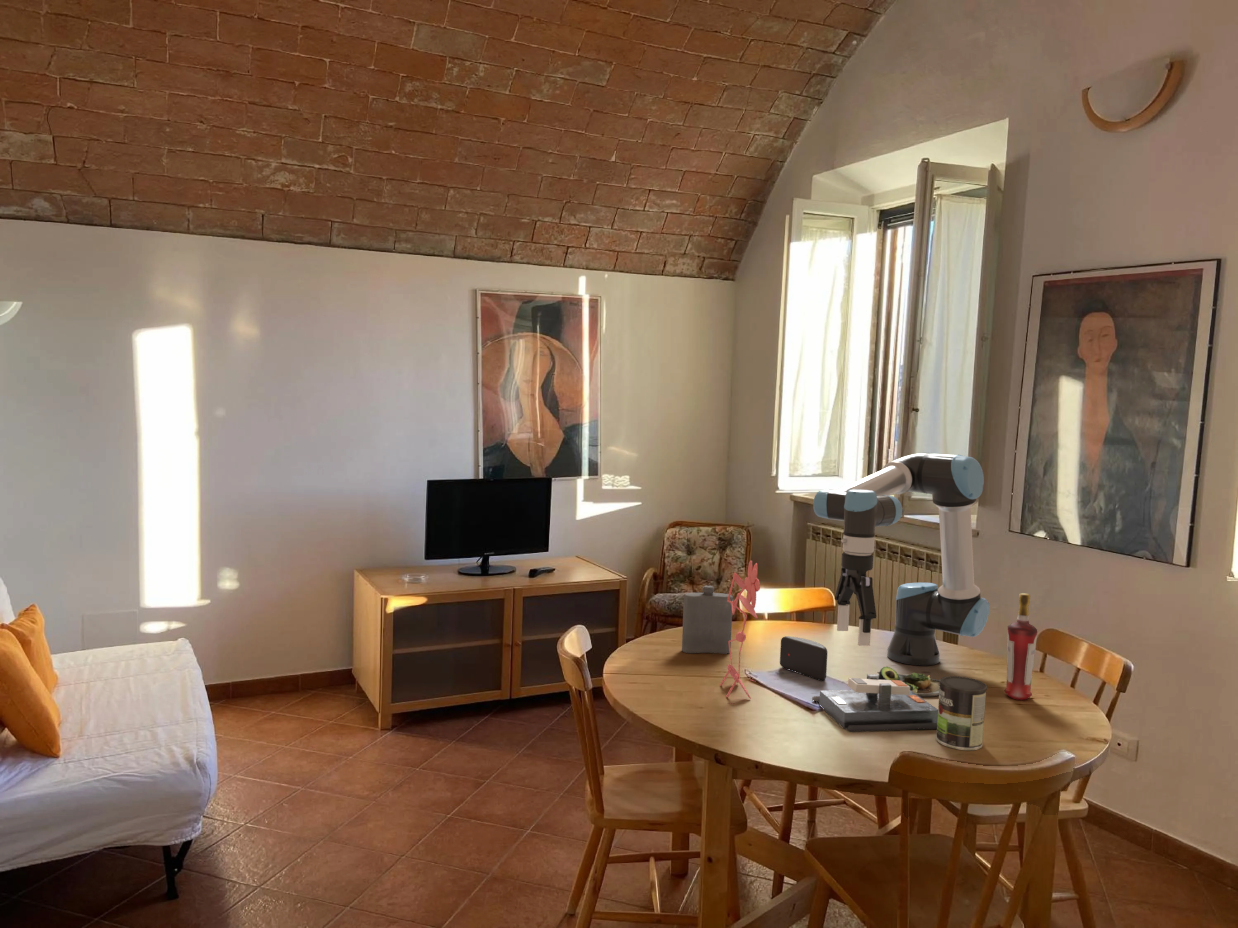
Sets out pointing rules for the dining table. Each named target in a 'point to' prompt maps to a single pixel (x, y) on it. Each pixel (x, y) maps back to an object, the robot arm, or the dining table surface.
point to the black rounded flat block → (804, 657)
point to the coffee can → (961, 713)
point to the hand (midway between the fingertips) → (852, 637)
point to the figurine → (751, 587)
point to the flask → (707, 622)
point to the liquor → (1020, 653)
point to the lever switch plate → (876, 707)
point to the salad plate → (912, 681)
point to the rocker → (877, 686)
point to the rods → (887, 725)
